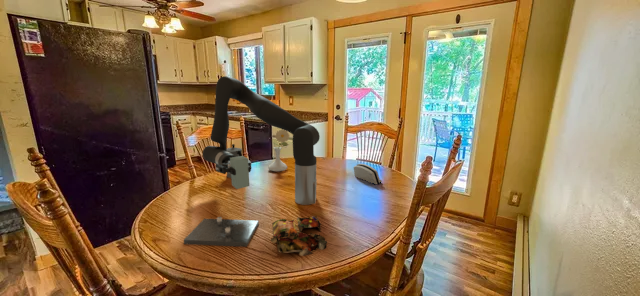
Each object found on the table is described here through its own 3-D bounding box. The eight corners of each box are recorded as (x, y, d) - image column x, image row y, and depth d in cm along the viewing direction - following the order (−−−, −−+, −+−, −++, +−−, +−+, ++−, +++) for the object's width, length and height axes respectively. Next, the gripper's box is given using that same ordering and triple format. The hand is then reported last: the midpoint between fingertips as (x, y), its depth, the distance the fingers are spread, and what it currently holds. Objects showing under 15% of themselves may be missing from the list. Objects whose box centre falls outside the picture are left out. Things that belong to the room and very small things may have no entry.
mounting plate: (258, 224, 96) (258, 214, 96) (246, 246, 83) (246, 235, 82) (204, 222, 97) (203, 212, 96) (184, 244, 84) (182, 232, 83)
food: (332, 254, 81) (333, 244, 80) (270, 262, 77) (270, 251, 76) (318, 220, 102) (318, 211, 101) (268, 225, 98) (268, 216, 97)
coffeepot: (221, 174, 150) (219, 143, 146) (237, 171, 157) (235, 141, 153) (234, 181, 140) (232, 148, 136) (250, 177, 146) (248, 145, 142)
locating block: (244, 182, 105) (242, 155, 103) (249, 186, 102) (247, 158, 99) (231, 185, 102) (229, 157, 100) (236, 189, 99) (234, 160, 96)
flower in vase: (265, 172, 156) (264, 130, 150) (272, 166, 167) (271, 127, 161) (287, 173, 154) (286, 131, 148) (292, 168, 164) (292, 128, 159)
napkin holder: (382, 183, 141) (379, 167, 137) (376, 187, 139) (373, 171, 135) (361, 174, 154) (357, 160, 150) (355, 178, 152) (351, 163, 148)
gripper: (208, 155, 107) (222, 164, 93) (242, 150, 115) (259, 158, 102) (209, 172, 108) (223, 184, 95) (243, 166, 117) (260, 177, 104)
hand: (242, 171), depth 99 cm, fingers closed on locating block, 5 cm apart
